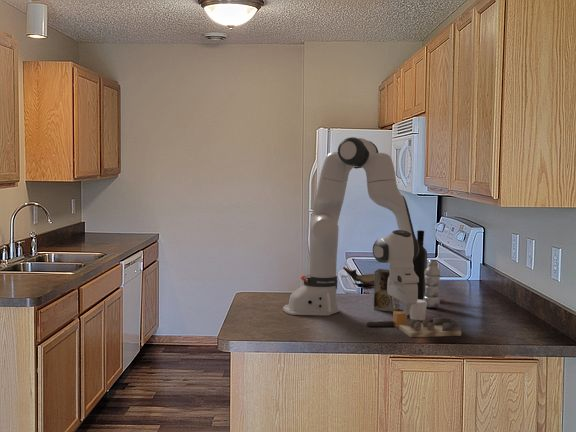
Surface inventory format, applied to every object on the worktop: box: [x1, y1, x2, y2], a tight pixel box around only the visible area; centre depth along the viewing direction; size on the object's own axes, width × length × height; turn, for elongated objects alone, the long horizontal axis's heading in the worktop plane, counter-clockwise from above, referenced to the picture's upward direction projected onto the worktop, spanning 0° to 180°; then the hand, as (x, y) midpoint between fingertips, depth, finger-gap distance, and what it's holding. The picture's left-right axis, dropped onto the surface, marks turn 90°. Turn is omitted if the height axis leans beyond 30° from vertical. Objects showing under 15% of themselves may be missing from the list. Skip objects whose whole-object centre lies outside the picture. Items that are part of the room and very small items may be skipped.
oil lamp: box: [343, 266, 375, 288], centre depth 327 cm, size 22×30×8 cm
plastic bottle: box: [422, 259, 441, 309], centre depth 280 cm, size 6×7×20 cm
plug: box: [366, 310, 408, 328], centre depth 249 cm, size 15×4×5 cm, turn 101°
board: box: [398, 317, 462, 338], centre depth 241 cm, size 20×11×4 cm, turn 101°
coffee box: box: [373, 268, 400, 313], centre depth 275 cm, size 9×6×16 cm
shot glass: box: [409, 299, 427, 321], centre depth 261 cm, size 7×7×7 cm
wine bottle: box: [413, 229, 428, 300], centre depth 299 cm, size 6×6×30 cm
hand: (401, 311), depth 250 cm, fingers open, 8 cm apart
